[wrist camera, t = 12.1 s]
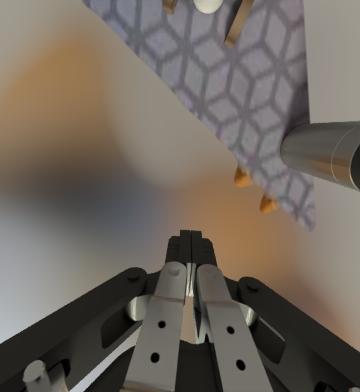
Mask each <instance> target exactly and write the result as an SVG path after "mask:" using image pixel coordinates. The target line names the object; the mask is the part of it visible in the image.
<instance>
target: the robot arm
mask: <svg viewBox="0 0 360 392" xmlns="http://www.w3.org/2000/svg"><path fill="white" fill-rule="evenodd" d="M281 157H282V160H283V162H284V163H285V164H286V165H287V166H288V167H290V168H292V169H295V170H298V171H301V172H303V173H306V174H309V175H312V176H315V177H318V178H321V179H324V180H327V181H330V182H333V183H336V184H339V185H342V186H344V187H347V188H351V189H354V190H356V191H359V192H360V121H348V122H331V123H314V124H303V125H300V126H297V127H296V128H294V129H293V130H291V131H290V132H289V133H288V134H287V135H286V137H285V138H284V140H283V142H282V145H281ZM188 291H189V296H193V318H194V327H195V335H196V344H191V343H188V342H186V341H183V340H180V334H181V325H182V316H183V307H184V305H185V297H186V296H188ZM260 317H261V318H262V319H263V320H265V321H266V322H267V323H268V324H269V325H270V326H271V327H273V328H274V329H275V330H276V331H277V332H278V333H279V334H281V336H282V337H283V338H284V340H285V342H284V341H283V340H282V339H281V338H280V337H279V336H277V335H276V334H275V333H274V332H273V331H272V330H271V329H270V328H269V327H267V326H266V325H265V324H264V323H263V322H262V321H261V320H260ZM141 325H142V327H141V330H140V333H139V337H138V339H137V343H136V345H135V346H133V347H131V348H129V349H128V350H126V351H125V352H123V353H122V354H121V355H120V356H118V357H117V358H116V359H115V360H114V361H113V362H112V363H111V364H110V365H109V366H108V367H107V368H106V369H105V370H104V372H102V373H101V374H100V376H99V377H97V378H96V380H95V381H94V382H93V383H92V384H91V385H90V386H89V387H88V388H87V389H86V390H85V391H84V392H360V352H359V351H357V350H356V349H354V348H353V347H351V346H350V345H349V344H347V343H346V342H345V341H343V340H342V339H340V338H339V337H338V336H336V335H335V334H333V333H332V332H330V331H329V330H328V329H326V328H325V327H323V326H322V325H321V324H319V323H318V322H317V321H315V320H314V319H312V318H311V317H310V316H308V315H307V314H305V313H304V312H302V311H301V310H300V309H298V308H297V307H296V306H294V305H293V304H291V303H290V302H288V301H287V300H286V299H284V298H283V297H281V296H280V295H279V294H277V293H276V292H274V291H273V290H272V289H270V288H269V287H267V286H266V285H265V284H263V283H262V282H260V281H259V280H257V279H255V278H252V277H242V278H241V279H240V280H239V282H237V281H234V280H231V279H228V278H226V277H225V276H223V274H222V271H221V270H220V269H219V268H218V267H217V263H216V258H215V254H214V249H213V245H212V242H211V241H210V240H209V239H206V238H202V233H201V231H193V230H191V234H190V230H180V236H172V237H171V238H170V239H169V242H168V248H167V254H166V260H165V264H164V266H163V267H162V269H161V270H160V271H158V272H155V273H151V274H147V273H146V271H145V270H143V269H142V268H138V267H134V268H129V269H126V270H125V271H123V272H121V273H120V274H118V275H116V276H115V277H113V278H111V279H110V280H108V281H106V282H104V283H103V284H101V285H99V286H97V287H96V288H94V289H93V290H91V291H89V292H87V293H86V294H84V295H82V296H81V297H79V298H77V299H75V300H74V301H72V302H70V303H69V304H67V305H65V306H64V307H62V308H60V309H59V310H57V311H55V312H53V313H52V314H50V315H48V316H47V317H45V318H43V319H42V320H40V321H38V322H36V323H35V324H33V325H31V326H30V327H28V328H27V329H25V330H23V331H21V332H20V333H18V334H16V335H14V336H13V337H11V338H9V339H8V340H6V341H4V342H3V343H1V344H0V392H69V391H70V390H71V389H72V388H73V387H75V385H77V384H78V383H79V382H80V381H81V380H82V379H83V378H84V377H85V376H87V374H89V373H90V372H91V371H92V370H93V369H94V368H95V367H96V366H97V365H99V364H100V363H101V362H102V361H103V360H104V359H105V358H106V357H107V356H108V355H109V354H110V353H112V352H113V351H114V350H115V349H116V348H117V347H118V346H119V345H120V344H121V343H123V342H124V341H125V340H126V339H127V338H128V337H129V336H130V335H131V334H132V333H133V332H135V331H136V330H137V329H138V328H139V327H140V326H141Z"/></svg>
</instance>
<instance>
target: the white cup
mask: <svg viewBox="0 0 360 392" xmlns="http://www.w3.org/2000/svg"><path fill="white" fill-rule="evenodd" d="M193 1H194V4H195V6H196V7H197V9H198V10H199V11H201V12H202V13H206V14H209V13H213V12H215V11H216V10H217V9H218V8H219V7H220V6H221V4H222V2H223V0H193Z"/></svg>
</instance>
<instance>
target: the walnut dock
mask: <svg viewBox="0 0 360 392" xmlns="http://www.w3.org/2000/svg"><path fill="white" fill-rule="evenodd" d="M162 1H163V8H164V11H166V12H168V13H170V14H171V15H173V12H174V9H175V7H176V4H177V1H178V0H162ZM253 2H254V0H243V1H242V3H241V6H240V8H239V10H238V13H237V15H236V17H235V19H234V22H233V24H232V26H231V29H230V31H229V33H228V36H227V38H226V40H225V42H224V44H225V45H227V46H229V47H231V48H232V47H233V45H234V43H235V42H236V40H237V38H238V35H239V33H240V31H241V29H242V27H243V24H244V22H245V20H246V18H247V15H248V13H249V11H250V9H251V7H252V4H253Z"/></svg>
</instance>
